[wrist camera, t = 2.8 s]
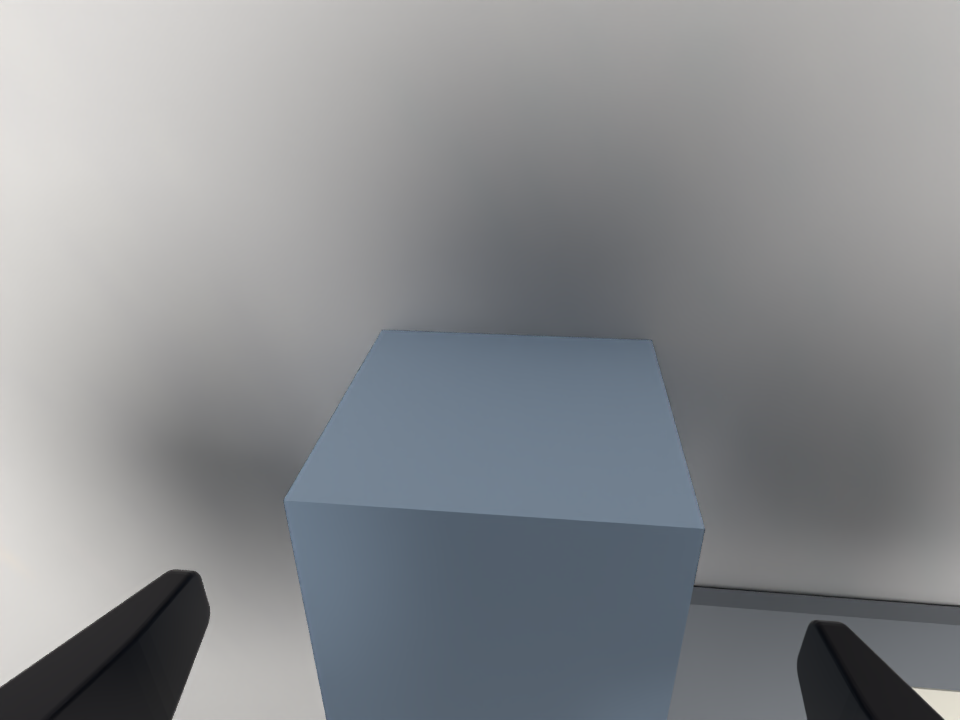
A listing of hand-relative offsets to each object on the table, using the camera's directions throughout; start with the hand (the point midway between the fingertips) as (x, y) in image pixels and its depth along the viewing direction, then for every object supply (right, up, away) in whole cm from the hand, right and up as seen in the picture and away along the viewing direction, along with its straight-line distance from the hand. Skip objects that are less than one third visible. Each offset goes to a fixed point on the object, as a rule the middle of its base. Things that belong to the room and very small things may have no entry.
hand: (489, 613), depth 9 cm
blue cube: (0, +2, +4) cm, 4 cm away
